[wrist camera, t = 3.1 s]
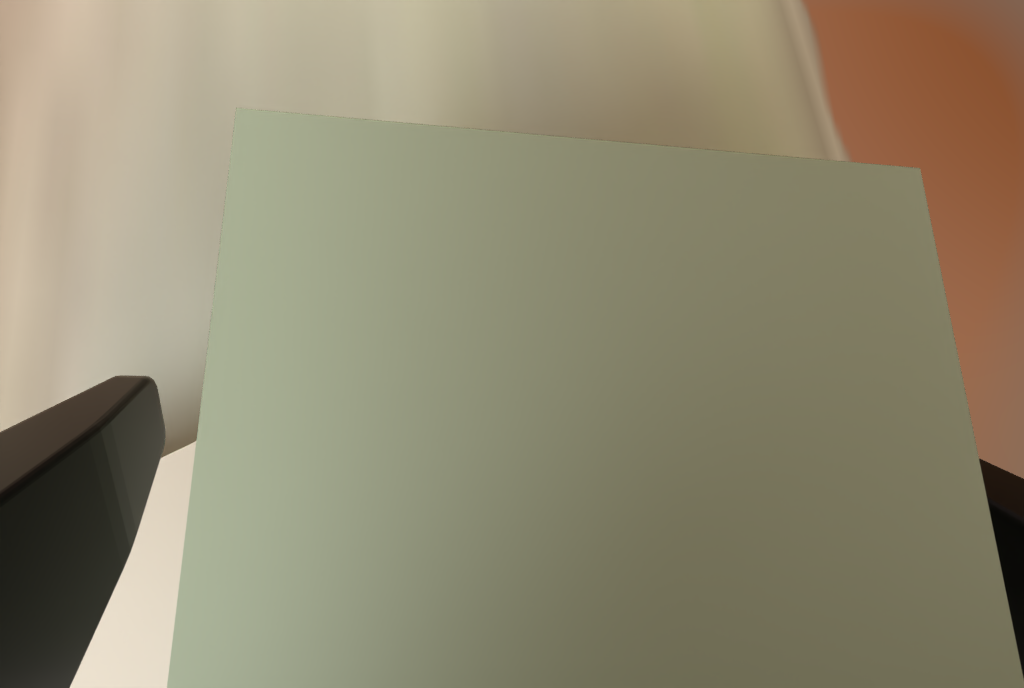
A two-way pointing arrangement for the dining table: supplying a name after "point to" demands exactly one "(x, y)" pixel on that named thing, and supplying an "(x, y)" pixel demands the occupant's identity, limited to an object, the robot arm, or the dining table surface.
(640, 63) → the dining table surface
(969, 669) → the sage block
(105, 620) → the plate
